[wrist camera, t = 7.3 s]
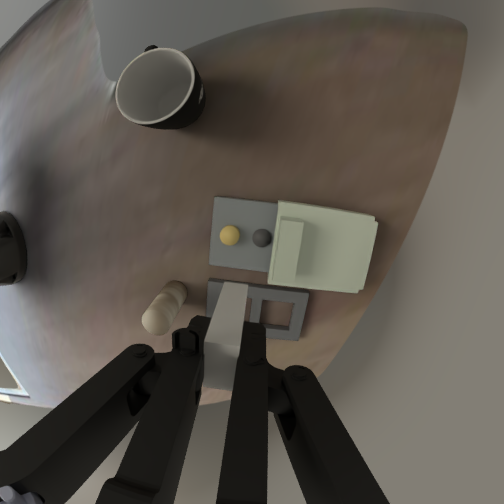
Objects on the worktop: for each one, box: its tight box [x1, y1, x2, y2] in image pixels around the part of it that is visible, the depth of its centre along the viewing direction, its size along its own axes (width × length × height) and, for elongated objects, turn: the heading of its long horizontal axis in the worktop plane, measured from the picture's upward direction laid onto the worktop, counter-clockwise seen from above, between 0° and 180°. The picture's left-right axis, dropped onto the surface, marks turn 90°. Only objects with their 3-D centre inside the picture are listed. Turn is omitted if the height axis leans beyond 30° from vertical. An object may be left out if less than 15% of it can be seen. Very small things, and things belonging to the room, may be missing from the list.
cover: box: [268, 200, 378, 293], centre depth 32 cm, size 13×10×5 cm
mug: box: [116, 45, 205, 129], centre depth 27 cm, size 12×9×10 cm
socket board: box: [206, 278, 309, 341], centre depth 39 cm, size 14×8×1 cm, turn 83°
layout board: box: [209, 196, 278, 272], centre depth 35 cm, size 12×9×3 cm
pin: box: [142, 281, 187, 335], centre depth 35 cm, size 4×4×9 cm
